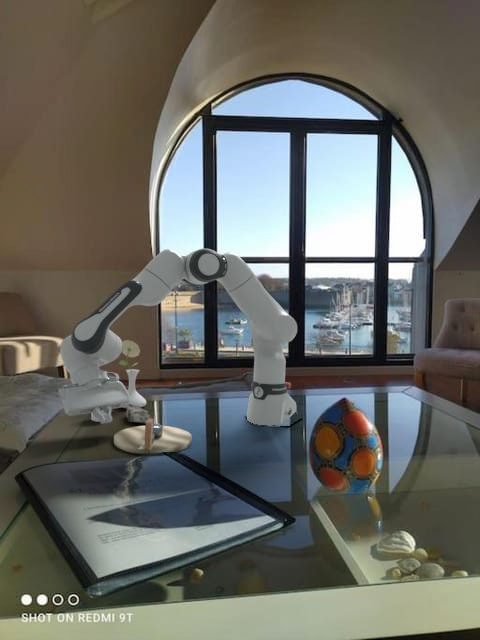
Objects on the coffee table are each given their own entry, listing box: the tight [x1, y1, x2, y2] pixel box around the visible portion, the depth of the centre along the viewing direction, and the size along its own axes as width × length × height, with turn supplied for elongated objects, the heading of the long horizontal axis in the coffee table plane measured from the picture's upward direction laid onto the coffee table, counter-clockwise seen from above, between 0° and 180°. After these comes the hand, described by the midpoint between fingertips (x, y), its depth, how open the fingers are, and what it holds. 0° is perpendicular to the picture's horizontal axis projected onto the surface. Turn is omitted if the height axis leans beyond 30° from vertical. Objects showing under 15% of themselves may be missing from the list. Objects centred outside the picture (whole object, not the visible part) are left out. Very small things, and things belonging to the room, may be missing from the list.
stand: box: [113, 425, 193, 455], centre depth 130 cm, size 22×22×2 cm
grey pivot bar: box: [144, 418, 164, 449], centre depth 128 cm, size 21×5×7 cm, turn 3°
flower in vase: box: [118, 339, 147, 409], centre depth 168 cm, size 13×11×25 cm
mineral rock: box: [125, 404, 153, 424], centre depth 151 cm, size 15×8×4 cm, turn 19°
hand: (107, 422), depth 129 cm, fingers closed
